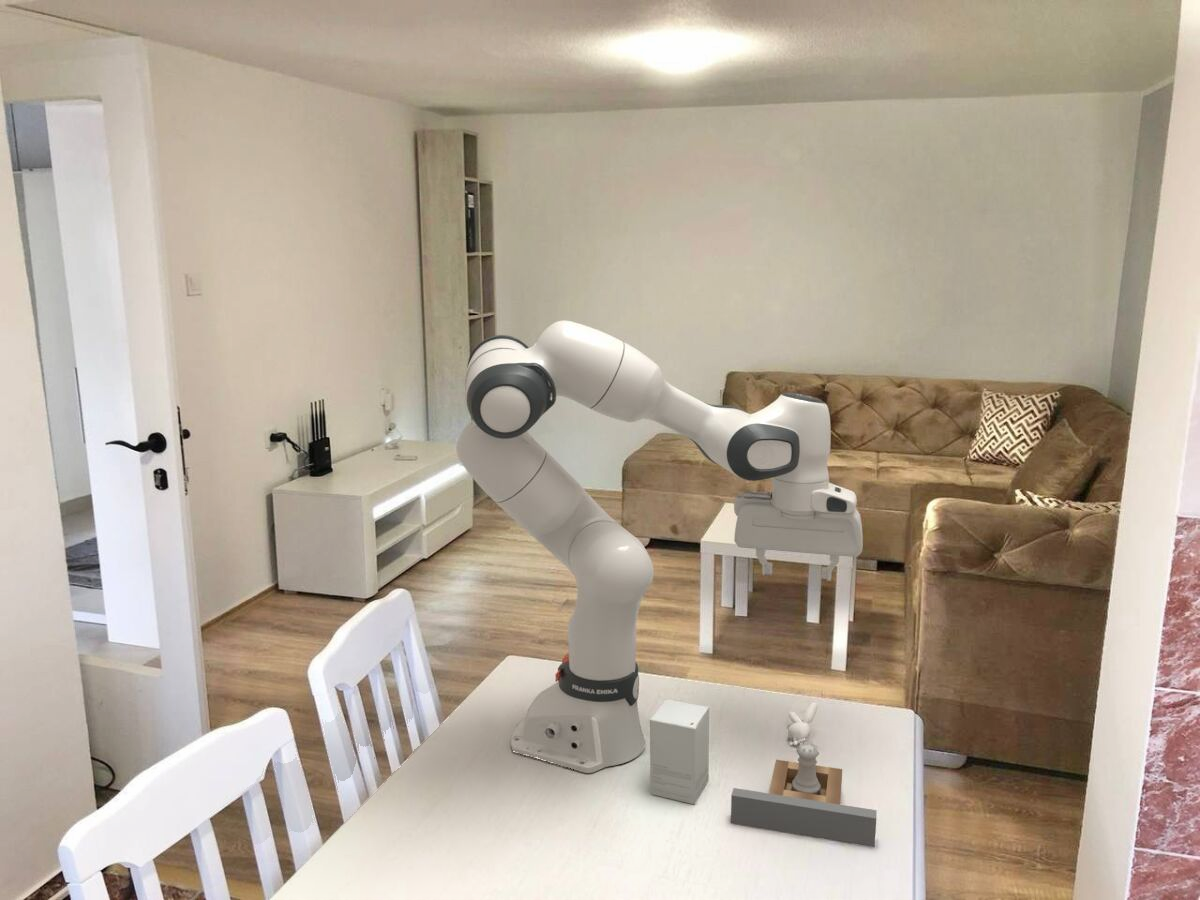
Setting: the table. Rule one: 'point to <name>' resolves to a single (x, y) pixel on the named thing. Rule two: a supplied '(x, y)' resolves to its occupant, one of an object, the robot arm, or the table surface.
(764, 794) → the backstop board
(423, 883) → the table surface
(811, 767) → the rook chess piece
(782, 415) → the robot arm
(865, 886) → the table surface
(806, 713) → the rabbit figurine
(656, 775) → the supplement box
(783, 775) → the socket block
